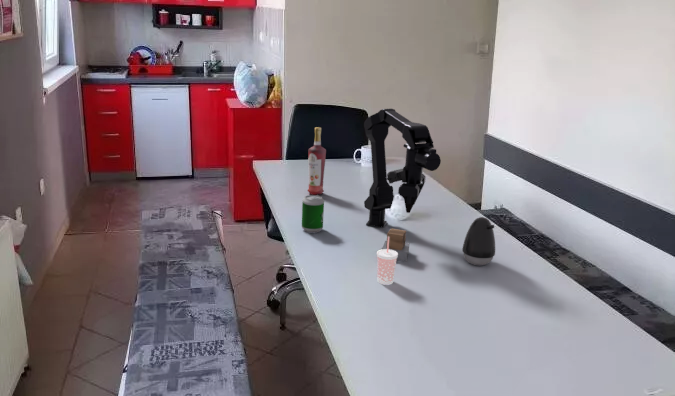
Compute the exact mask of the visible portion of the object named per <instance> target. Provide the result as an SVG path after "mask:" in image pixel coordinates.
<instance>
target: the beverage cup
mask: <svg viewBox="0 0 675 396" xmlns="http://www.w3.org/2000/svg"><path fill="white" fill-rule="evenodd" d="M376 256H377V276H376V277H377V283H379V284H380V285H382V286H383V285H385V286H389V285H393V283H394V279H395V278H394V277H395V271H396V265H397V260H396V259H397V257H398V253H397V252H396V251H394V250H390V249H389V236H388V242H387V249H379V250H377V251H376Z"/></svg>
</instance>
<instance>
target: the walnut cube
mask: <svg viewBox="0 0 675 396" xmlns="http://www.w3.org/2000/svg"><path fill="white" fill-rule="evenodd" d="M388 236H389V248H390V249H396V250H402V249H403V247H404V246H405V243H406V240H407V239H406V237H407V230H404V229H399V228H398V229H397V228H390V229H389V230H388V231H387V233H386V241H387V242H388ZM386 248H387V244H386Z"/></svg>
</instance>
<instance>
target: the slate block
mask: <svg viewBox="0 0 675 396" xmlns="http://www.w3.org/2000/svg"><path fill="white" fill-rule="evenodd" d="M386 244H387V240H384V243H383V244H382V245H383V246H382V249H387V248H386ZM389 249H390V248H389ZM390 250H394V251H396V252H397V253H398V257H397V259H396V261H400V262H407V261H408V257H409V252H410V243H409V242H405V246H404V247H403V249H402V250H396V249H390Z"/></svg>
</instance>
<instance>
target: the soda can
mask: <svg viewBox="0 0 675 396" xmlns="http://www.w3.org/2000/svg"><path fill="white" fill-rule="evenodd" d="M301 204H302V206H301V207H302V208H301V229H303V231H304V232H306V233H310V234H315V233H320V232H321V231H322V230H323V228H324V211H325V210H324V209H325V200H324V199H323V197H322V196H320V195H311V194H309V195H306V196H304V198H302V203H301Z"/></svg>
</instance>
